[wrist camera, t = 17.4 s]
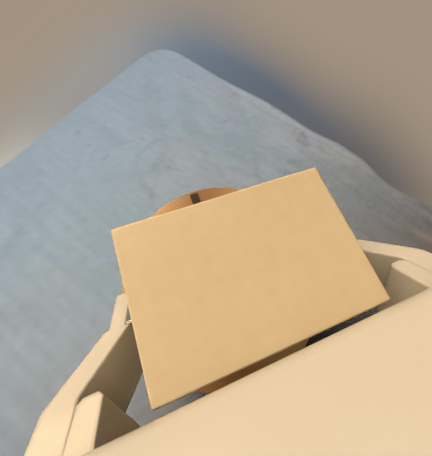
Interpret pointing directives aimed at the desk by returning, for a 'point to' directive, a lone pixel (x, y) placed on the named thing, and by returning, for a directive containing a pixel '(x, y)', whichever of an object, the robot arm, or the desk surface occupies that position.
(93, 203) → the desk surface
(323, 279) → the tan cube with screen
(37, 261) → the desk surface
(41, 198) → the desk surface
